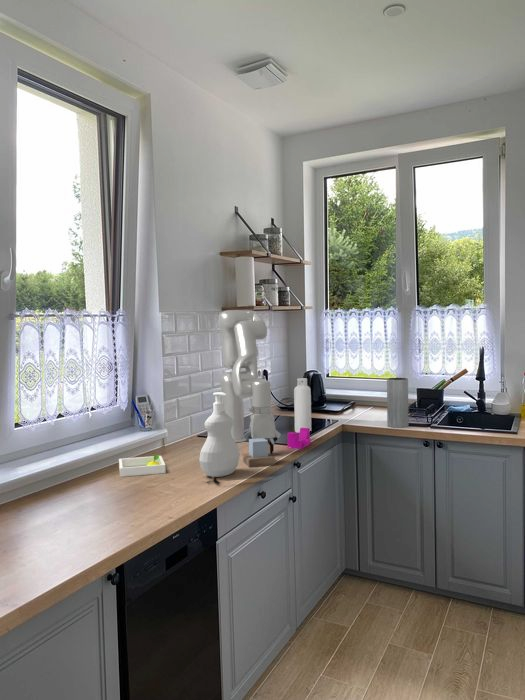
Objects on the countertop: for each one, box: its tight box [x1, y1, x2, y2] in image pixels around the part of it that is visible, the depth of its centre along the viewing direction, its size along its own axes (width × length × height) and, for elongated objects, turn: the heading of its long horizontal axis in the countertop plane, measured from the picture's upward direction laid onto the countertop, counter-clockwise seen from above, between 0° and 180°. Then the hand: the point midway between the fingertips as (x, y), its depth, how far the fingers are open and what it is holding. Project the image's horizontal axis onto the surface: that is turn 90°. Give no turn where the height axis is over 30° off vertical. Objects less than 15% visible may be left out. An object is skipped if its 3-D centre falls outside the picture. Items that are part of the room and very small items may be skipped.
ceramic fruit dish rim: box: [118, 455, 166, 478], centre depth 208 cm, size 16×16×3 cm
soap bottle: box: [198, 391, 241, 478], centre depth 199 cm, size 17×12×29 cm
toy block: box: [287, 428, 312, 450], centre depth 243 cm, size 15×6×8 cm, turn 152°
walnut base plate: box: [242, 452, 276, 468], centre depth 215 cm, size 10×10×3 cm
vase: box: [386, 377, 410, 429], centre depth 270 cm, size 10×10×27 cm
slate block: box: [248, 438, 269, 458], centre depth 215 cm, size 6×6×6 cm
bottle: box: [293, 377, 312, 434], centre depth 268 cm, size 8×8×28 cm
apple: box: [146, 454, 160, 466], centre depth 212 cm, size 7×6×9 cm
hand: (262, 453), depth 228 cm, fingers open, 6 cm apart
